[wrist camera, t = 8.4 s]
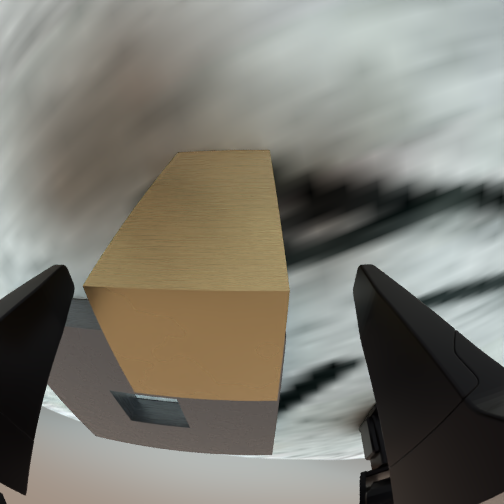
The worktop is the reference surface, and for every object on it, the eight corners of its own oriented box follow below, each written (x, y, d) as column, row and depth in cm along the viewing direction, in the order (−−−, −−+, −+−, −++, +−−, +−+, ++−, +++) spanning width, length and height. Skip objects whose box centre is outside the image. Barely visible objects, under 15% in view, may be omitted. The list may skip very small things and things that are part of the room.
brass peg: (269, 150, 13) (289, 290, 5) (267, 230, 15) (277, 400, 8) (177, 152, 13) (82, 285, 5) (186, 230, 15) (134, 392, 8)
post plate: (283, 304, 18) (286, 337, 16) (271, 434, 29) (271, 454, 27) (13, 293, 18) (-2, 315, 16) (100, 418, 29) (95, 436, 27)
